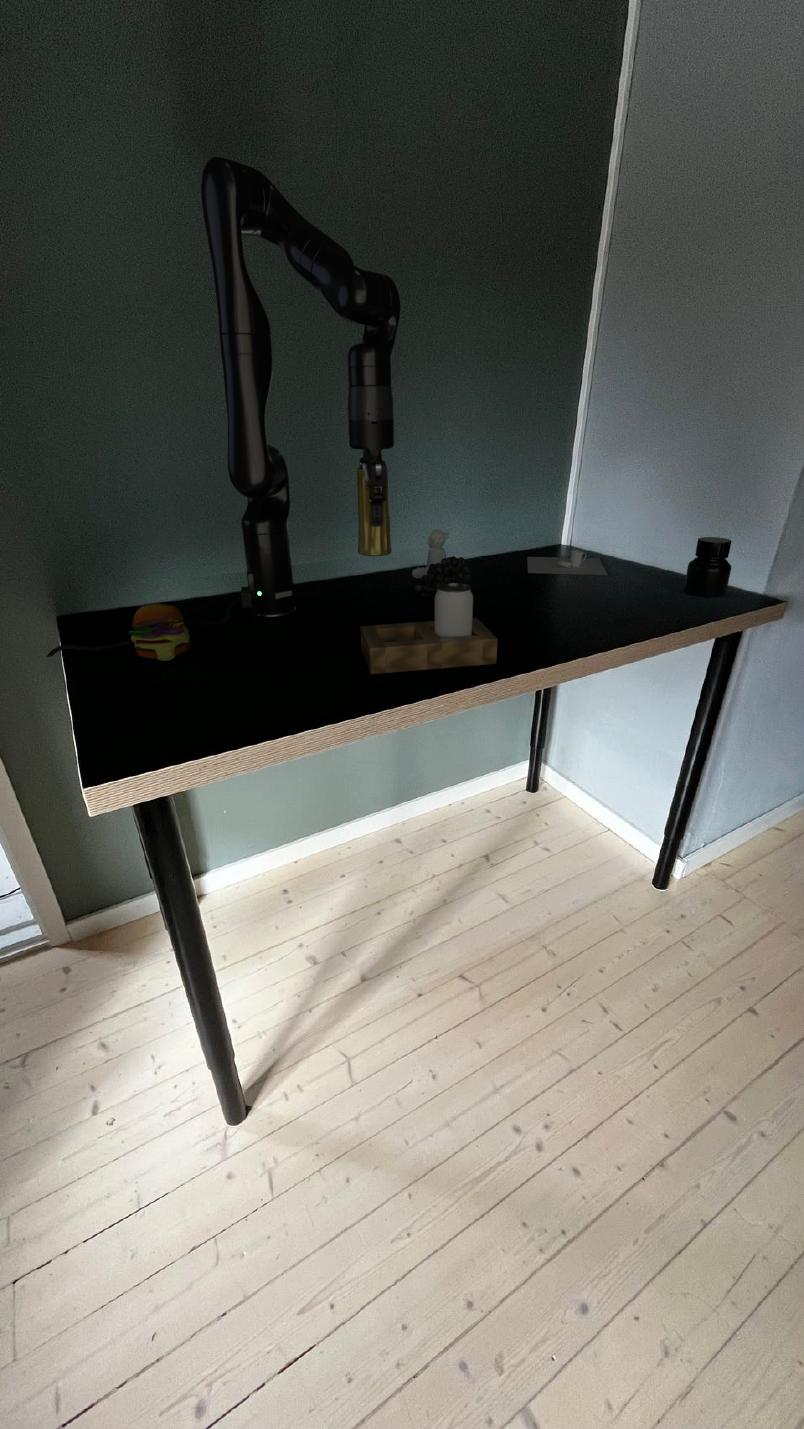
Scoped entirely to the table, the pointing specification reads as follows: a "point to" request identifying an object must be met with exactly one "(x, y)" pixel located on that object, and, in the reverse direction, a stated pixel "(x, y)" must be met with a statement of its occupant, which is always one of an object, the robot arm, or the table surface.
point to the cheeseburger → (159, 632)
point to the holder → (424, 647)
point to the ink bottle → (709, 568)
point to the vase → (369, 537)
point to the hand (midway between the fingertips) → (373, 522)
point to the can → (453, 610)
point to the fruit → (443, 575)
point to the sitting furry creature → (433, 552)
